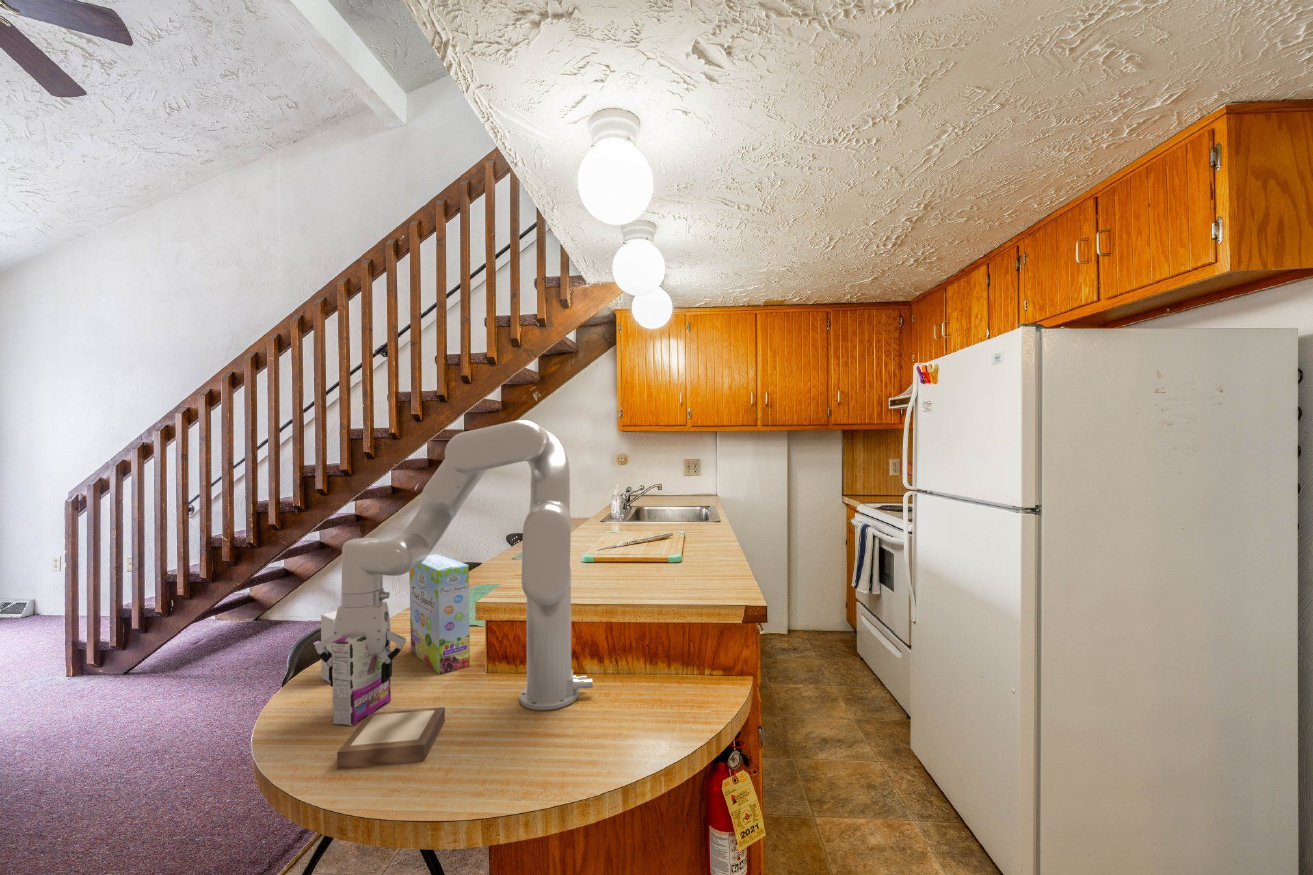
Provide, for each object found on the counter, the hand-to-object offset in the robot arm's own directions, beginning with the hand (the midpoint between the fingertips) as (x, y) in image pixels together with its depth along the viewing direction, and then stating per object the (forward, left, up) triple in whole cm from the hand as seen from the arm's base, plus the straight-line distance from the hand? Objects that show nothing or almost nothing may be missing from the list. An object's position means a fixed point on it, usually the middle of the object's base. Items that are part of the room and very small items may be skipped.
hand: (360, 682), depth 110 cm
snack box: (-8, -28, -6) cm, 30 cm away
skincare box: (+12, -21, -6) cm, 25 cm away
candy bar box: (0, 0, -6) cm, 6 cm away
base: (-11, +14, -6) cm, 19 cm away
